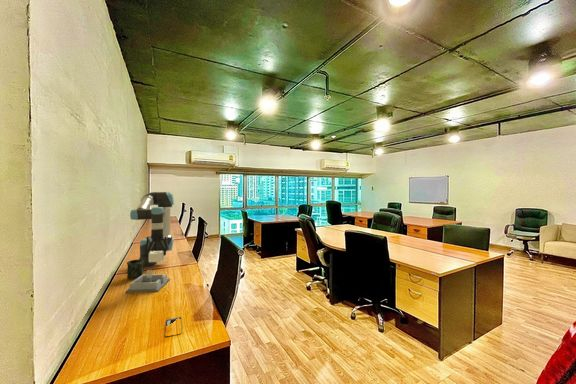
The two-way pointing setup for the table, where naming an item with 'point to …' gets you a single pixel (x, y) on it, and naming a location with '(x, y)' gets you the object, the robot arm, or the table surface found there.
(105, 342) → the table surface
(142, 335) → the table surface
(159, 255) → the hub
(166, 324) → the smartphone
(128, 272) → the mug
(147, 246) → the robot arm
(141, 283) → the grey walled tray
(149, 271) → the post
